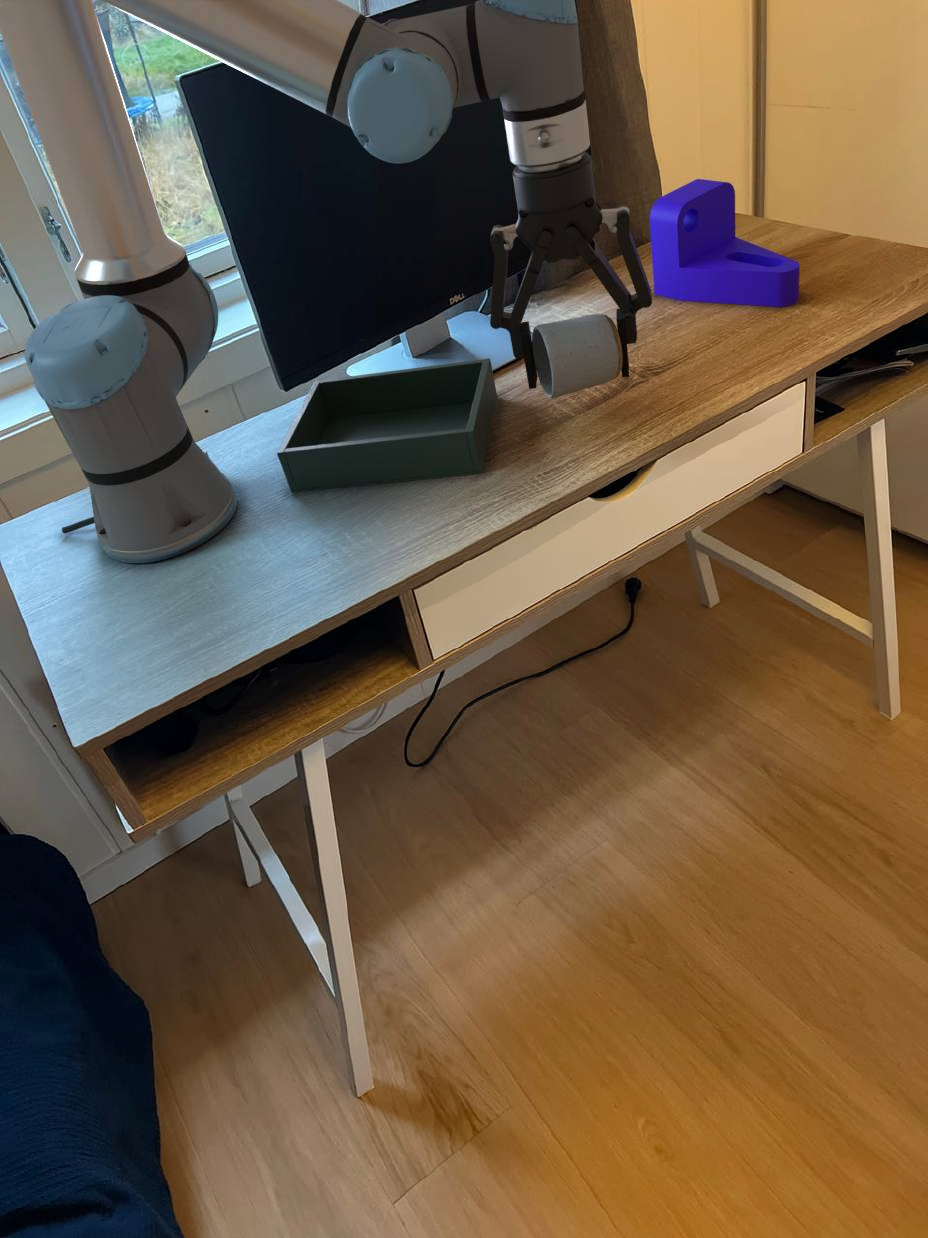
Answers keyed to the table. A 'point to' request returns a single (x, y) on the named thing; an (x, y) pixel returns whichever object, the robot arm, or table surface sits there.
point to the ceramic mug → (576, 354)
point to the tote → (391, 427)
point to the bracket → (714, 252)
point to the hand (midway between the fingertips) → (578, 377)
